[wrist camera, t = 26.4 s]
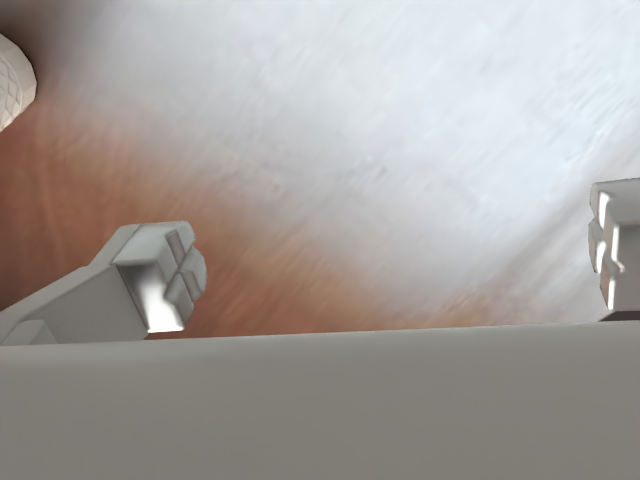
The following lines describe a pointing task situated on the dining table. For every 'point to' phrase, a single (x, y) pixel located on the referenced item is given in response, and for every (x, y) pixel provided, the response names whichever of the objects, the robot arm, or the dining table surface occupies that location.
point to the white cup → (14, 82)
